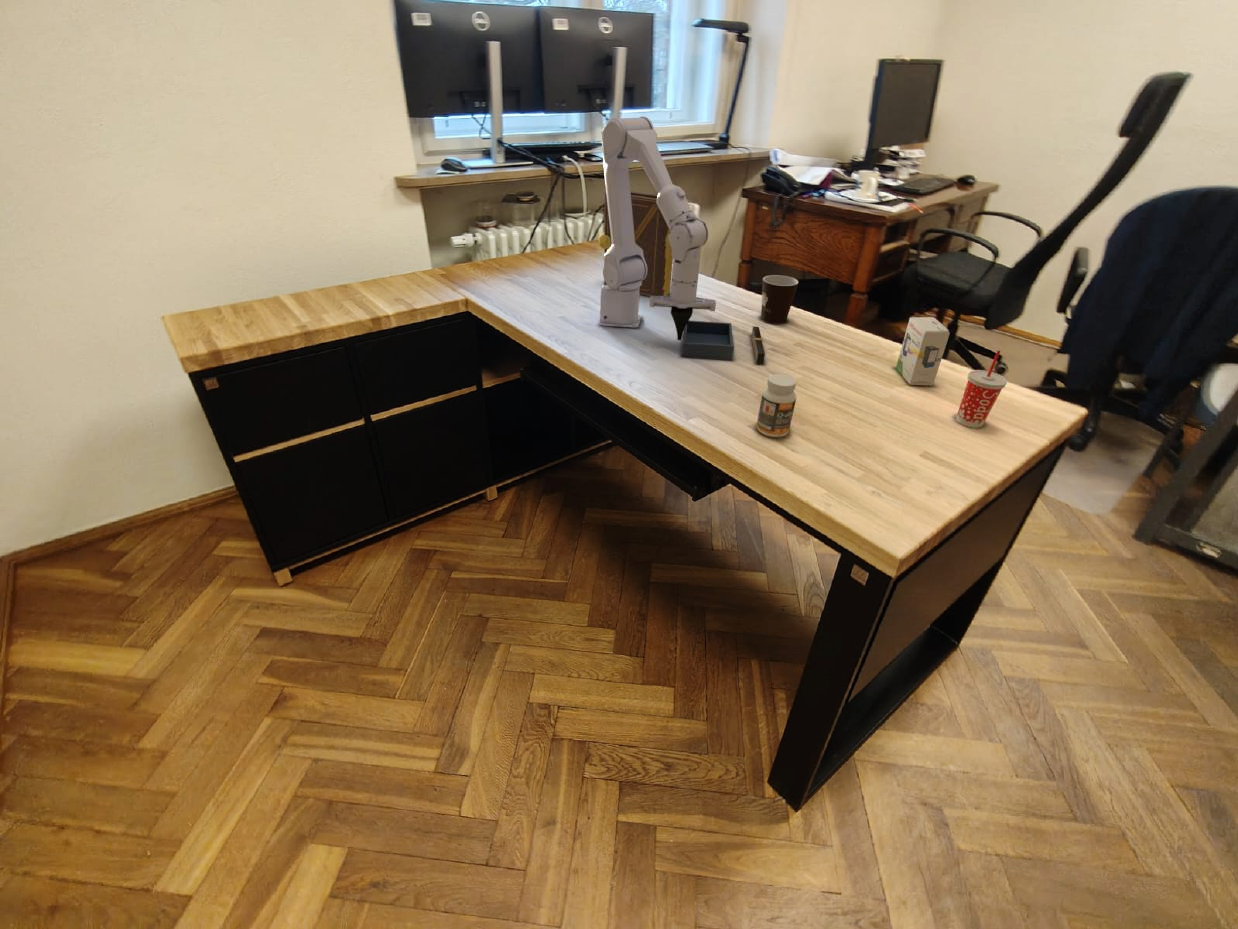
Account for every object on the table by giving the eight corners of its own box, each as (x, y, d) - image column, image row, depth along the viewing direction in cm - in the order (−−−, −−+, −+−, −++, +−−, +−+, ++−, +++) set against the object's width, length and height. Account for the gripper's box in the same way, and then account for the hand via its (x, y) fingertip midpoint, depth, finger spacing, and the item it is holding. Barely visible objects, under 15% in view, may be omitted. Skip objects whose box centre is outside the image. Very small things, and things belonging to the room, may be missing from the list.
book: (674, 292, 165) (681, 197, 151) (659, 300, 159) (666, 202, 145) (609, 278, 175) (610, 187, 161) (593, 285, 169) (593, 191, 155)
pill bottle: (778, 442, 101) (789, 390, 95) (749, 430, 104) (758, 379, 98) (794, 429, 104) (805, 379, 99) (766, 418, 107) (775, 369, 102)
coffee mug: (791, 326, 146) (799, 287, 140) (756, 323, 147) (762, 284, 141) (789, 311, 155) (797, 273, 149) (756, 308, 156) (762, 270, 151)
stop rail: (755, 363, 127) (757, 352, 125) (750, 336, 140) (752, 325, 139) (763, 364, 127) (765, 353, 125) (757, 336, 140) (759, 326, 138)
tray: (681, 356, 129) (683, 342, 127) (683, 333, 141) (684, 319, 139) (731, 360, 128) (733, 346, 126) (729, 336, 140) (731, 323, 138)
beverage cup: (952, 425, 107) (981, 354, 99) (949, 410, 112) (977, 341, 104) (989, 432, 105) (1022, 360, 97) (985, 416, 110) (1015, 347, 102)
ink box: (933, 386, 120) (953, 331, 113) (908, 385, 120) (926, 330, 113) (917, 368, 127) (934, 316, 120) (893, 367, 127) (909, 315, 120)
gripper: (649, 282, 124) (646, 343, 131) (718, 287, 123) (711, 347, 130) (652, 273, 130) (649, 331, 137) (717, 277, 128) (710, 335, 136)
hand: (679, 338), depth 134 cm, fingers closed
